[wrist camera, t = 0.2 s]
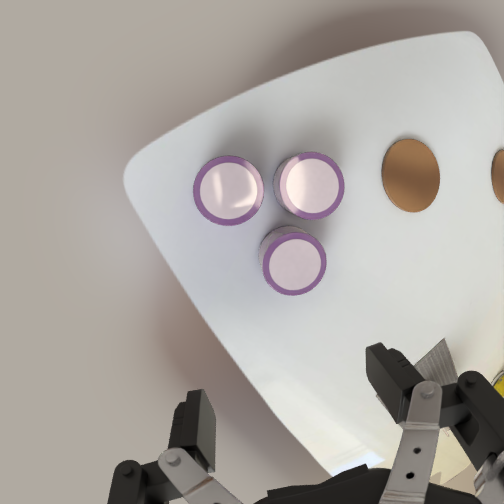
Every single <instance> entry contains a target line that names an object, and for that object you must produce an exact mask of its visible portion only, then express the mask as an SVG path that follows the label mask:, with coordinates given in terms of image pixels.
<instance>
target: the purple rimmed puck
mask: <svg viewBox="0 0 504 504" xmlns="http://www.w3.org/2000/svg"><path fill="white" fill-rule="evenodd" d="M193 196H194V201H195V204H196V206H197V208H198V209H199V211H200V212H201V214H202V215H203V216H204V217H205V218H207V219H208V220H210V221H211V222H213V223H216V224H218V225H223V226H234V225H238V224H241V223H243V222H246V221H247V220H249V219H250V218H251V217H253V216H254V215H255V213H256V212H257V211H258V209H259V208H260V206H261V204H262V201H263V197H264V184H263V180H262V177H261V175H260V173H259V172H258V170H257V169H256V168H255V167H254V166H253V165H252V164H251V163H250V162H248V161H247V160H245V159H243V158H240V157H236V156H222V157H218V158H215V159H213V160H211V161H209V162H208V163H207V164H205V165H204V166H203V167H202V168H201V170H200V171H199V173H198V174H197V176H196V179H195V182H194V186H193Z"/></svg>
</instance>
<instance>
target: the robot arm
mask: <svg viewBox="0 0 504 504" xmlns="http://www.w3.org/2000/svg"><path fill="white" fill-rule="evenodd" d="M366 373H367V377H368V380H369V382H370V383H371V385H372V386H373V388H374V389H375V391H376V392H377V394H378V396H379V397H380V399H381V400H382V402H383V403H384V405H385V407H386V408H387V410H388V411H389V413H390V414H391V416H392V418H393V419H394V421H395V422H396V424H399V423H401V422H403V421H404V422H405V423H406V424H405V426H404V430H403V434H402V438H401V441H400V445H399V448H398V451H397V455H396V458H395V461H394V464H393V467H392V469H386V468H371V469H368V467H367V465H366V464H363V465H360V466H358V467H355V468H352V469H349V470H346V471H343V472H341V473H339V474H338V475H336V476H334V477H332V478H330V479H328V480H326V481H325V482H323V483H321V484H318V485H300V486H288V487H283V488H278V489H273V490H268V491H267V494H268V497H265V498H263V499H261V500H259V501H257V502H256V503H254V504H504V398H503V397H502V396H501V395H500V393H499V392H498V391H497V390H496V389H495V388H494V387H493V386H492V385H491V384H490V383H489V382H488V381H487V380H486V378H485V377H484V376H483V375H482V374H480V373H479V372H477V371H466V372H464V373H462V374H461V375H460V376H459V378H458V381H457V382H456V383H452V384H448V385H443V386H440V385H439V384H438V383H436V382H434V381H426V380H425V379H424V377H423V376H422V375H421V374H420V373H419V372H418V371H417V370H416V368H415V367H414V366H413V365H412V364H410V362H409V361H408V359H406V357H405V356H404V355H403V354H402V353H401V352H400V351H398V350H395V349H393V348H391V349H389V350H387V349H386V347H385V346H384V345H383V344H382V343H381V342H379V343H377V344H374V345H371V346H369V347H366ZM173 418H174V419H173V423H172V428H171V433H170V439H169V445H168V449H167V450H165V451H164V452H163V453H161V455H160V456H159V458H158V460H157V461H154V462H151V463H147V464H144V465H140V464H139V463H138V462H136V461H134V460H126V461H123V462H121V463H120V464H118V466H117V467H116V468H115V471H114V475H113V479H112V484H111V488H110V493H109V498H108V503H107V504H169V501H170V500H173V499H177V498H181V497H183V498H184V499H185V500H186V501H187V502H188V503H189V504H243V503H242V502H240V500H238V499H237V498H236V497H235V496H234V495H232V494H231V493H230V492H229V491H228V490H227V489H226V488H224V487H223V486H222V485H221V484H220V483H219V482H218V481H217V480H216V479H214V478H213V477H211V476H209V474H208V473H211V472H215V438H216V436H215V435H216V417H215V413H214V410H213V408H212V405H211V403H210V402H209V399H208V397H207V395H206V393H205V391H204V389H200V390H193V391H188V393H187V399H186V402H181V403H179V405H178V406H177V408H176V409H175V412H174V417H173ZM445 427H449V428H450V430H451V431H452V433H453V434H454V436H455V437H456V439H457V440H458V442H459V443H460V445H461V446H462V448H463V449H464V451H465V453H466V454H467V456H468V457H469V459H470V461H471V462H472V464H473V465H474V467H475V469H476V470H477V473H476V475H475V478H474V486H475V490H476V493H475V496H474V495H472V494H470V493H466V492H461V491H458V490H453V489H450V488H447V487H443V486H440V485H436V484H433V483H430V482H429V479H430V475H431V471H432V467H433V462H434V458H435V453H436V447H437V442H438V436H439V430H440V428H445Z"/></svg>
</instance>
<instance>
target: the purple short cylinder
mask: <svg viewBox="0 0 504 504" xmlns="http://www.w3.org/2000/svg"><path fill="white" fill-rule="evenodd" d="M326 262H327V260H326V254H325V251H324V249H323V247H322V245H321V244H320V242H319V241H318V240H317V239H315V238H314V237H313V236H311V235H310V234H308V233H307V232H306V231H304V230H302V229H301V228H298V227H294V226H284V227H280V228H277V229H275V230H273V231H272V232H270V233H269V234H268V235H267V236H266V237H265V238H264V240H263V242H262V243H261V246H260V249H259V263H260V266H261V269H262V272H263V275H264V277H265V279H266V281H267V283H268V284H269V285H270V287H271V288H273V289H274V290H275V291H277V292H279V293H281V294H284V295H292V296H294V295H301V294H304V293H306V292H308V291H310V290H312V289H313V288H314V287H315V286H316V285H317V284H318V283H319V282H320V281H321V279H322V277H323V275H324V273H325V270H326Z"/></svg>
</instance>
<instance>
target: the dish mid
mask: <svg viewBox="0 0 504 504" xmlns="http://www.w3.org/2000/svg"><path fill="white" fill-rule="evenodd" d="M273 189H274V193H275V196H276V198H277V200H278V202H279V203H280V204H281V206H282V207H284V208H285V209H286V210H287V211H289V212H291V213H293V214H295V215H297V216H298V217H301V218H304V219H309V220H316V219H321V218H324V217H326V216H328V215H330V214H331V213H332V212H333V211H334V210H335V209H336V208H337V207H338V206H339V204H340V202H341V200H342V198H343V194H344V179H343V175H342V172H341V170H340V169H339V167H338V166H337V164H336V163H335V162H334V161H333V160H332V159H331V158H329V157H328V156H326V155H324V154H321V153H317V152H305V153H301V154H298V155H296V156H293V157H290V158H288V159H287V160H285V161H284V162H283V163H282V164H281V165H280V166H279V167H278V169H277V171H276V173H275V175H274V180H273Z"/></svg>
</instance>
